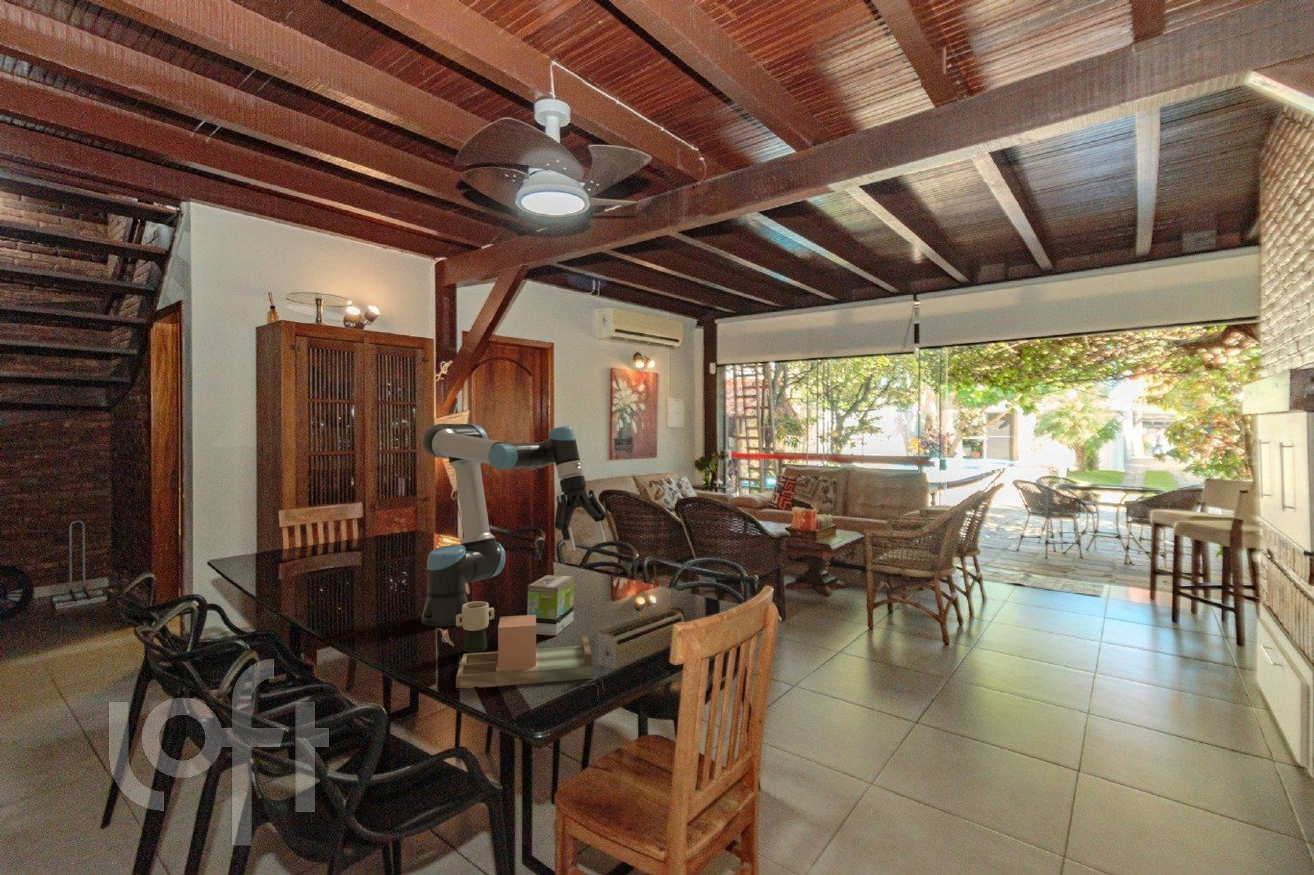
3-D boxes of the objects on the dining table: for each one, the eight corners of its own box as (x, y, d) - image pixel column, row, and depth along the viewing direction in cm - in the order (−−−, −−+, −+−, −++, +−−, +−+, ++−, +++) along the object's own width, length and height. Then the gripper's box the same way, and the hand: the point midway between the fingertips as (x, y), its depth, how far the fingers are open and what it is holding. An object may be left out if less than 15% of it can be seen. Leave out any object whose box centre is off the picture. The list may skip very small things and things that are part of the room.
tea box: (557, 636, 180) (557, 586, 180) (526, 634, 182) (525, 585, 182) (574, 621, 195) (574, 575, 195) (545, 619, 197) (545, 573, 197)
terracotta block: (500, 655, 157) (500, 616, 157) (536, 652, 158) (535, 614, 158) (498, 668, 148) (498, 627, 148) (535, 665, 150) (535, 625, 149)
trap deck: (463, 665, 158) (463, 642, 158) (587, 656, 164) (586, 634, 164) (456, 689, 143) (455, 663, 143) (591, 678, 149) (591, 654, 149)
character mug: (489, 643, 174) (488, 598, 174) (499, 650, 169) (499, 603, 168) (451, 652, 167) (451, 605, 167) (461, 659, 162) (460, 611, 162)
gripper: (550, 478, 170) (567, 552, 168) (606, 470, 191) (622, 537, 188) (532, 484, 174) (548, 556, 172) (589, 476, 195) (604, 541, 192)
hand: (587, 546), depth 180 cm, fingers open, 13 cm apart
